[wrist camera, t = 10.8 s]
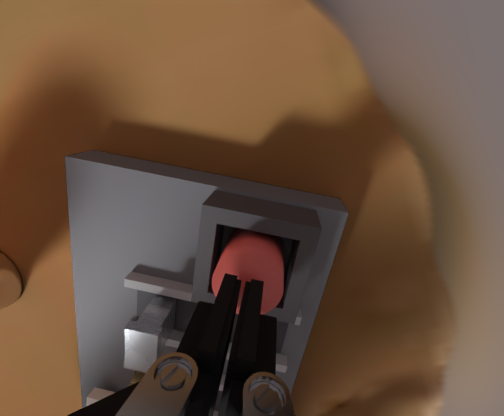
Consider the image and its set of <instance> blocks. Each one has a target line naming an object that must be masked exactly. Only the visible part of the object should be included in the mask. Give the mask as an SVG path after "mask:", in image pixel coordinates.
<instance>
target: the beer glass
mask: <svg viewBox="0 0 504 416" xmlns="http://www.w3.org/2000/svg"><path fill="white" fill-rule="evenodd" d="M21 292H22V281H21V277H20V274H19V272H18V270H17V268H16V267H15V265H14V264H13V263H12V262H11V260H10V259H9V258H8V257H7V256H6V255H4V254H3V253H2V252H0V310H1V309H3V308H5V307H7V306H9V305H11V304H13V303H14V302H15V301H16V300H17V299H18V298H19V297H20V295H21Z"/></svg>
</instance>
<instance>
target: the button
mask: <svg viewBox="0 0 504 416" xmlns="http://www.w3.org/2000/svg"><path fill="white" fill-rule="evenodd" d="M225 273H227V274H232V275H236V276H238V277H237V279H238V280H242V282H241V288H240V293H239V298H238V303H237V309H236V314H239V310H240V305H241V301H242V296H243V292H244V287H245V282H246V281H248V282H251V279H255V280H260V281H264V286H263V295H262V304H261V313H260V314H265V313H267V312H269V311H271V310H272V309H274V308H275V307H276V306H277V305H278V303H279V302H280V300H281V298H282V295H283V290H284V245H283V242H282V239H281V237H280V236H275V235H270V234H265V233H261V232H256V231H251V230H246V229H241V228H236V229H235V230H234V231H233V232H232V234H231V235H230V237H229V239H228V241H227V244H226V246H225V248H224V250H223V253H222V255H221V257H220V260H219V262H218V264H217V266H216V269H215V271H214V273H213V276H212V289H213V292H214V295H215V297H217V294H218V291H219V288H220V286H221V283H222V280H223V277H224V275H225Z"/></svg>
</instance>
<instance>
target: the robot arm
mask: <svg viewBox="0 0 504 416" xmlns="http://www.w3.org/2000/svg"><path fill="white" fill-rule="evenodd" d="M237 277H238V276H236V275H232V274H227V273H225V275H224V277H223V280H222V283H221V286H220V288H219V291H218V294H217V297H216V299H215V302H214V304H213V303H208V302H203V301H199V302H198V304H197V306H196V308H195V311H194V313H193V315H192V317H191V320H190V322H189V324H188V326H187V328H186V331H185V333H184V335H183V337H182V340H181V342H180V344H179V346H178V348H177V351H176V352H174V353H168V354H165V355H163V356H161V357H160V358H158V359H157V360H156V361H155V362H154V363H153V364H152V365H151V367H150V368H149V370H148V371H147V372H146V374H145V375H144V377H143V378H142V379H141V381H139V382H137V383H135V384H132V385H130V386H128V387H126V388H124V389H122V390H120V391H118V392H116V393H114V394H111V395H109V396H107V397H105V398H103V399H101V400H99V401H97V402H95V403H93V404H90V405H88V406H86V407H84V408H82V409H80V410H78V411H76V412H74V413H72V414H69V415H68V416H213V413H214V408H215V404H216V400H217V395H218V391H219V387H220V382H221V378H222V374H223V370H224V365H225V361H226V357H227V352H228V348H229V344H230V339H231V335H232V330H233V324H234V319H235V314H236V309H237V303H238V298H239V293H240V288H241V282H242V280H238V279H237ZM263 286H264V281H260V280H255V279H251V282H248V281H246V282H245V287H244V292H243V296H242V301H241V305H240V310H239V314H238V319H237V323H236V328H235V332H234V337H233V342H232V346H231V351H230V355H229V360H228V365H227V371H226V376H225V381H224V386H223V391H222V397H221V402H220V407H219V412H218V416H295V415H294V411H293V406H292V400H291V395H290V392H289V389H288V387H287V386H286V384H285V383H284V381H282V380H281V379H280V378H279V377H278V376H276V338H277V317H273V316H268V315H263V314H260V313H261V304H262V295H263Z"/></svg>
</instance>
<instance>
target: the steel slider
mask: <svg viewBox="0 0 504 416" xmlns="http://www.w3.org/2000/svg"><path fill="white" fill-rule="evenodd" d="M175 310H176V299H174V298H169V297H165V296H160V295H156V294H155V296H154V297H153V298H152V300H151V301H150V303H149V304H148V306H147V307H146V308H145V310H144V311H143V313H142V314H141V315H140V317H139V318H138V320H137V321H136V322H135V321H130V322H129V324H128V325H127V327H126V328H125V367H128V368H132V369H136V370H141V371H145V372H147V371H148V370H149V368H150V367H151V365H152V364H153V363H154V362H155V361H156V360H157V359H158V358H160V356H161V352H162V350H163V348H164V346H165V344H166V342H167V340H168V338H169V337H170V335H171V333H172V331H173V329H174V321H175Z"/></svg>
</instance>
